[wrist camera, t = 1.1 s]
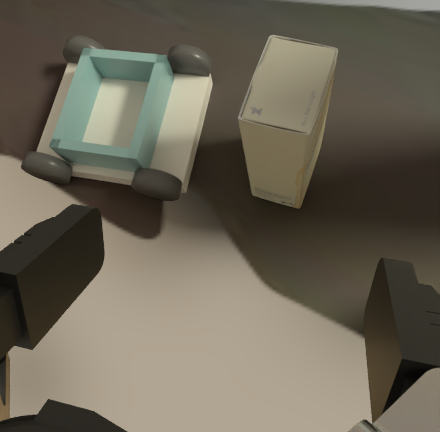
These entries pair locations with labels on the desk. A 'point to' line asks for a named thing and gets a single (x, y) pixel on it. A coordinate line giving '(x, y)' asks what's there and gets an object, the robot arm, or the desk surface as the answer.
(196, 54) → the toy car chassis
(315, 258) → the desk surface
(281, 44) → the skincare box
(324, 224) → the desk surface
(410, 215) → the desk surface
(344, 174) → the desk surface
